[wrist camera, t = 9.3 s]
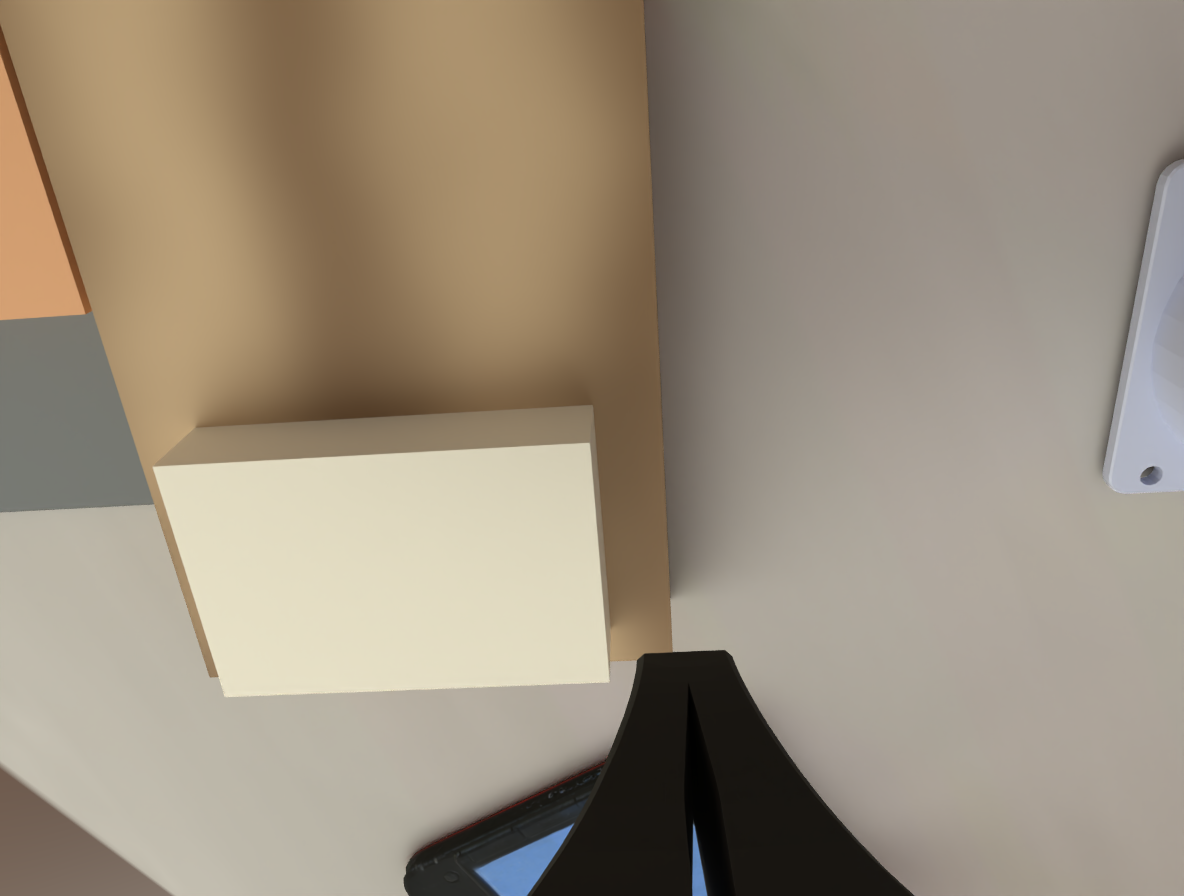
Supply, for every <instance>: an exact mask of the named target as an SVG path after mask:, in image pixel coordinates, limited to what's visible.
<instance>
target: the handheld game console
mask: <svg viewBox="0 0 1184 896" xmlns="http://www.w3.org/2000/svg"><path fill="white" fill-rule="evenodd" d="M604 764H605V762H604V763H602V764H600V765H598V766H596V767H594V768H591V769H589V770H587V771H585V772H583V773H581V774H579V775H577V776H574V777H572V778H570V779H568V780H566V781H564V782H562V783H559V784H557V785H555V786H553V787H551V788H549V789H547V790H545V791H542V792H540V793H538V794H536V795H534V796H532V797H530V798H528V799H526V800H523V801H521V802H519V803H517V804H515V805H513V806H511V807H509V808H507V809H505V810H502V811H500V812H498V813H496V814H494V815H492V816H490V817H488V818H486V819H484V820H482V821H479V822H477V823H475V824H473V825H471V826H469V827H467V828H465V829H463V830H461V831H459V832H457V833H454V834H452V835H450V836H448V837H446V838H444V839H442V840H440V841H438V842H436V843H434V844H432V845H430V846H428V847H426V848H424V849H422V850H420V851H419V852H417V853H416V854H415V855H414V856H413V857H412V858H411V859H410V861H409V862H408V864H407V867H406V875H405V877H404V887H405V890H406V892H407V893H408V895H409V896H527V895H528V893H529V892H530V891H531V889H532V888H533V886H534V885H535V884H536V882H537V881H538V879H539V878H540V876H541V875H542V873H543V872H544V870H545V869H546V867H547V866H548V864H549V863H550V861H551V860H552V858H553V857H554V855H555V854H556V852H557V851H558V849H559V848H560V846H561V845H562V843H563V841H564V840H565V838H566V836H567V835H568V833H569V831H570V830H571V828H572V826H573V825H574V823H575V821H576V819H577V818H578V816H579V814H580V812H581V810H582V808H583V807H584V805H585V803H586V801H587V799H588V797H589V795H590V793H591V791H592V789H593V787H594V785H595V783H596V781H597V779H598V777H599V774H600V772H601V770H602V768H603V766H604ZM692 893H693V896H707V892H706V886H705V881H704V875H703V870H702V865H701V859H700V853H699V848H698V842H697V837H696V831H695V826H694V820H693V883H692Z"/></svg>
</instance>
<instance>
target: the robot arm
mask: <svg viewBox="0 0 1184 896" xmlns="http://www.w3.org/2000/svg"><path fill="white" fill-rule="evenodd" d="M1152 466H1154V469H1153V471H1152V473H1151V474H1149V475H1148V476H1147V477H1143V478H1140V476H1141V474H1142V472H1143V471H1144V470H1145V469H1146V468H1148V467H1152ZM1103 479H1104V481H1105V482H1106V484H1107V485H1108V486H1109V487H1110V488H1111V489H1113V490H1114V491H1116V492H1118V493H1123V494H1132V493H1152V492H1172V491H1184V159H1181V160H1177V161H1175V162H1173V163H1172V164H1170V165H1169V166H1167V167H1166V168H1165V170H1164V171H1163V172H1162V173H1161V174H1160V177H1159V179H1158V182H1157V185H1156V190H1155V196H1154V201H1153V206H1152V212H1151V217H1150V222H1149V228H1148V233H1147V238H1146V244H1145V249H1144V254H1143V260H1142V265H1141V270H1140V276H1139V281H1138V286H1137V292H1136V297H1135V302H1134V308H1133V313H1132V318H1131V324H1130V329H1129V334H1128V339H1127V345H1126V350H1125V355H1124V361H1123V366H1122V371H1121V377H1120V382H1119V387H1118V393H1117V398H1116V403H1115V409H1114V414H1113V419H1112V425H1111V430H1110V435H1109V441H1108V446H1107V451H1106V457H1105V462H1104V467H1103ZM693 820H694V826H695V831H696V837H697V842H698V848H699V853H700V859H701V865H702V870H703V875H704V881H705V886H706V892H707V896H914V895H913V894H912V893H911V892H910V891H909V890H908V889H907V888H905V887H904V886H903V885H902V884H901V883H900V882H899V881H898V880H897V879H896V878H895V877H893V876H892V875H891V874H890V873H889V872H888V871H887V870H886V869H885V868H884V867H883V866H882V865H881V864H880V863H879V862H878V861H877V860H876V859H875V858H874V857H873V856H872V855H871V854H870V853H869V852H868V851H867V850H866V848H865V847H864V846H863V845H862V844H861V843H860V842H859V841H858V840H857V839H856V838H855V837H854V836H853V835H852V833H851V832H850V831H849V830H848V829H847V828H846V827H845V826H844V825H843V823H842V822H841V821H840V820H839V819H838V818H837V817H836V815H835V814H834V813H833V812H832V811H831V810H830V808H829V807H828V806H827V805H826V804H825V802H824V801H823V800H822V799H821V797H820V796H819V795H818V794H817V792H816V791H815V790H814V789H813V787H812V786H811V785H810V783H809V782H808V781H807V779H806V778H805V777H804V775H803V774H802V773H801V772H800V770H799V769H798V768H797V766H796V765H795V763H794V762H793V761H792V759H791V758H790V756H789V755H788V754H787V752H786V751H785V749H784V748H783V746H782V745H781V743H780V742H779V740H778V739H777V737H776V736H775V734H774V733H773V731H772V730H771V728H770V727H769V725H768V724H767V722H766V720H765V719H764V717H763V715H762V714H761V712H760V711H759V709H758V707H757V705H756V704H755V702H754V700H753V698H752V697H751V695H750V693H749V691H748V689H747V688H746V686H745V684H744V682H743V680H742V678H741V676H740V674H739V672H738V669H737V667H736V665H735V662H734V660H733V657H732V656H731V655H730V654H729V653H728V652H726V651H725V650H716V651H691V652H667V653H644V654H643V655H642V656H641V657H640V658H639V659H638V660H637V667H636V674H635V679H634V684H633V688H632V691H631V695H630V698H629V702H628V705H627V708H626V711H625V714H624V717H623V720H622V722H621V725H620V727H619V730H618V733H617V735H616V738H615V740H614V743H613V746H612V748H611V751H610V753H609V755H608V758H607V760H606V762H605V764H604V766H603V768H602V770H601V772H600V774H599V777H598V779H597V781H596V783H595V785H594V787H593V789H592V791H591V793H590V795H589V797H588V799H587V801H586V803H585V805H584V807H583V808H582V810H581V812H580V814H579V816H578V818H577V819H576V821H575V823H574V825H573V826H572V828H571V830H570V831H569V833H568V835H567V836H566V838H565V840H564V841H563V843H562V845H561V846H560V848H559V849H558V851H557V852H556V854H555V855H554V857H553V858H552V860H551V861H550V863H549V864H548V866H547V867H546V869H545V870H544V872H543V873H542V875H541V876H540V878H539V879H538V881H537V882H536V884H535V885H534V886H533V888H532V889H531V891H530V892H529V893H528V895H527V896H693V893H692V883H693Z"/></svg>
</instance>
